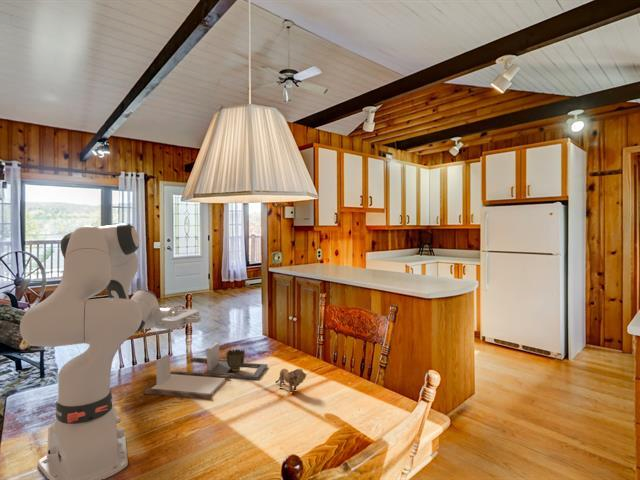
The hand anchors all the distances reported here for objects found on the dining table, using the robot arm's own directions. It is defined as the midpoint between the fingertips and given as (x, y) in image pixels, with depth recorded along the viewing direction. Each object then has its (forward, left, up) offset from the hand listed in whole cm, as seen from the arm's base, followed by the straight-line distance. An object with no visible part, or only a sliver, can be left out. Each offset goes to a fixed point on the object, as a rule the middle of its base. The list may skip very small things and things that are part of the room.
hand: (199, 319), depth 148 cm
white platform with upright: (-15, +10, -20) cm, 27 cm away
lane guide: (-9, +3, -20) cm, 22 cm away
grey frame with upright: (-13, -11, -20) cm, 26 cm away
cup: (-12, -10, -21) cm, 26 cm away
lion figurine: (-40, -17, -21) cm, 48 cm away
